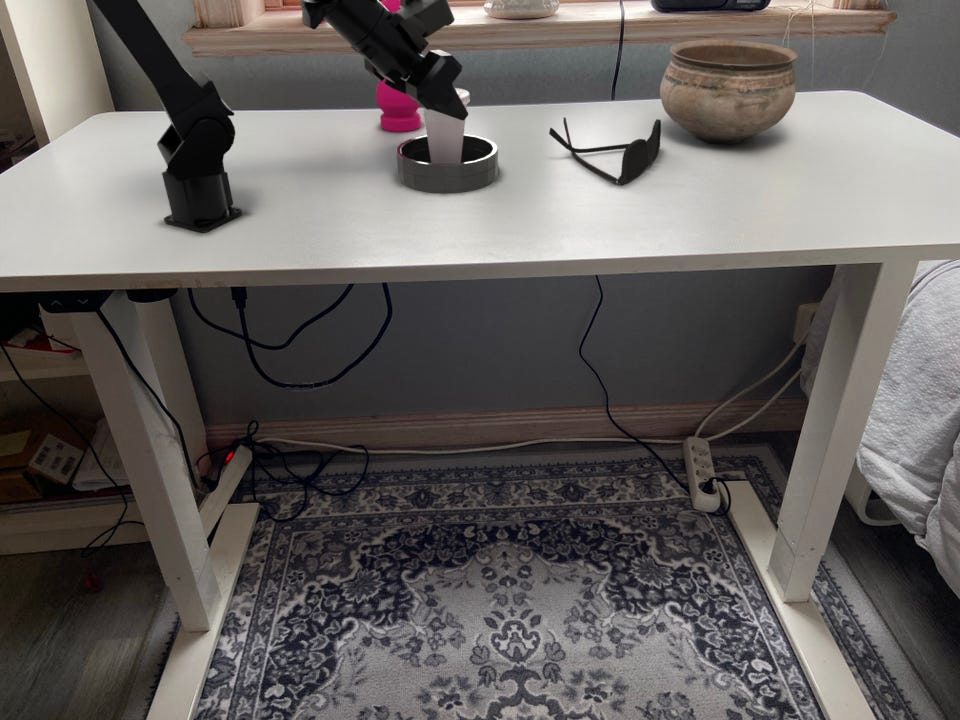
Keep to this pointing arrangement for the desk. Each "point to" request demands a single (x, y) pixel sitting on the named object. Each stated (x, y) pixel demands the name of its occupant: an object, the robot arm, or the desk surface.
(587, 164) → the sunglasses
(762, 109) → the cooking pot
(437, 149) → the smoothie
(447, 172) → the pan
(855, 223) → the desk surface
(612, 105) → the desk surface
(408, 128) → the pepper mill
